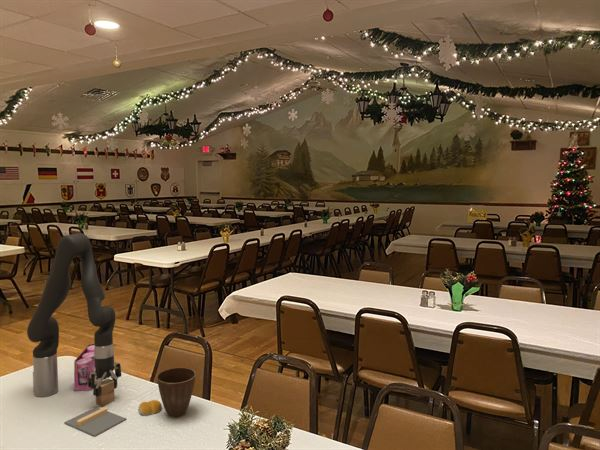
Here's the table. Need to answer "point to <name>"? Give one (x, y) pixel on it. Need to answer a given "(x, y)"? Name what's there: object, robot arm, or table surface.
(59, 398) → the table surface
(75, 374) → the gum box
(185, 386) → the plant pot
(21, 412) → the table surface
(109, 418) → the mat
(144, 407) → the bread roll
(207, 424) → the table surface
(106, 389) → the brown wooden block
